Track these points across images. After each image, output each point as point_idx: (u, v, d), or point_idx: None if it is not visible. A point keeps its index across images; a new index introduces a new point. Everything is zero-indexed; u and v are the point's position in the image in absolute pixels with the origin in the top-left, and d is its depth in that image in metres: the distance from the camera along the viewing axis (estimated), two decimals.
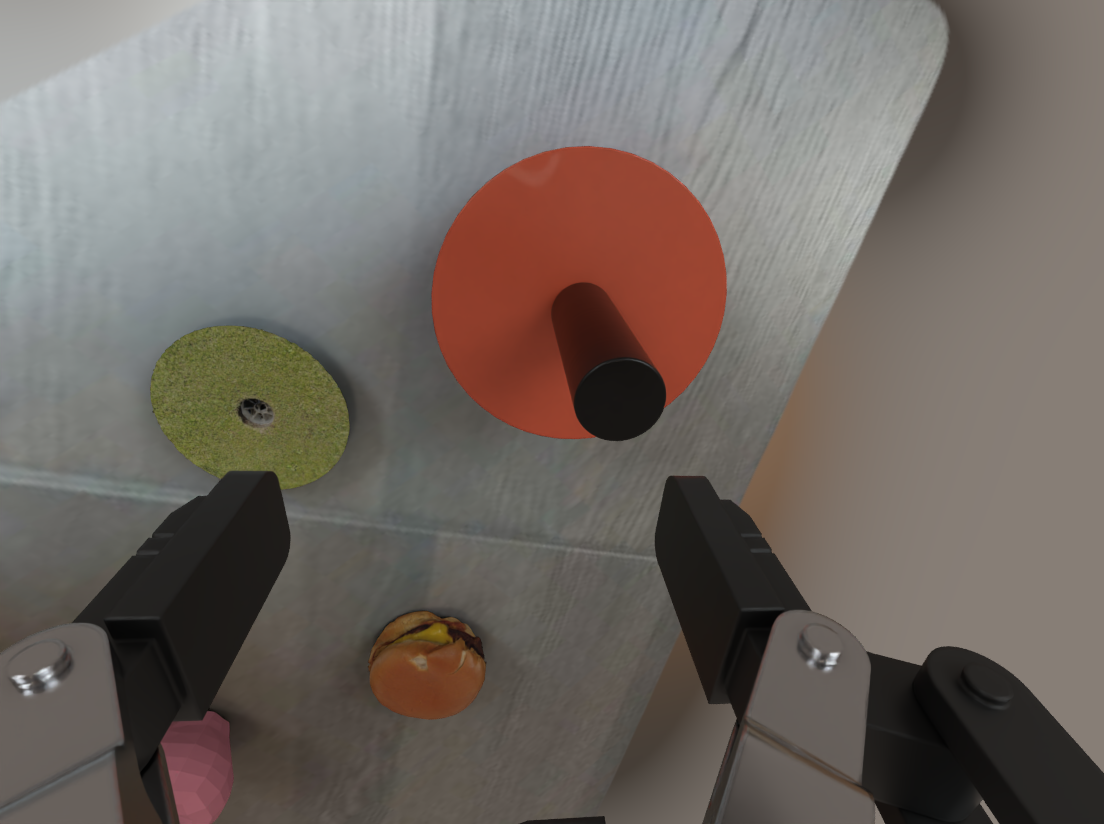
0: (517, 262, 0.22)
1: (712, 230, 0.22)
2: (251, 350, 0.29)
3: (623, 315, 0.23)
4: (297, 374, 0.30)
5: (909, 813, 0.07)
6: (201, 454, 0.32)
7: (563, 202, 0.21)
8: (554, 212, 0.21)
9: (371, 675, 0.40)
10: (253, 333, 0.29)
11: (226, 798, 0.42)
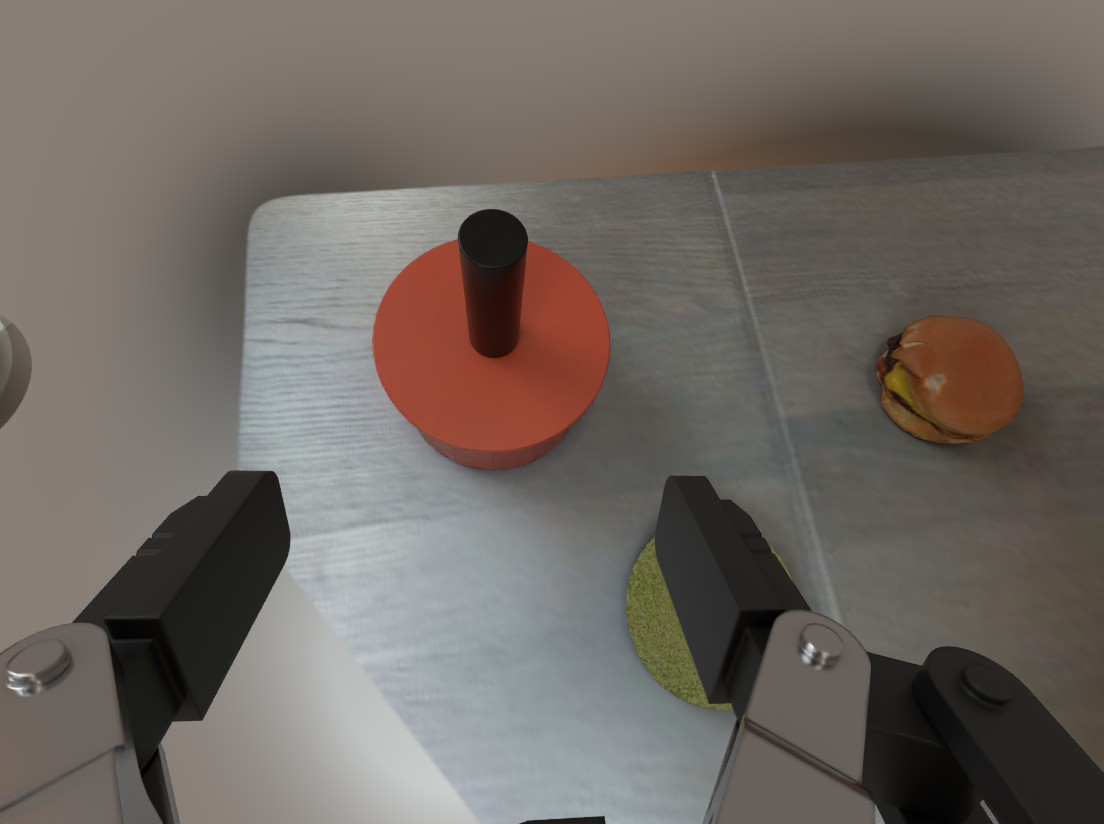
0: (471, 392, 0.28)
1: (405, 270, 0.30)
2: (649, 618, 0.31)
3: None
4: (657, 573, 0.32)
5: (909, 813, 0.07)
6: None
7: (418, 374, 0.28)
8: (427, 378, 0.28)
9: (982, 429, 0.36)
10: (632, 618, 0.31)
11: None
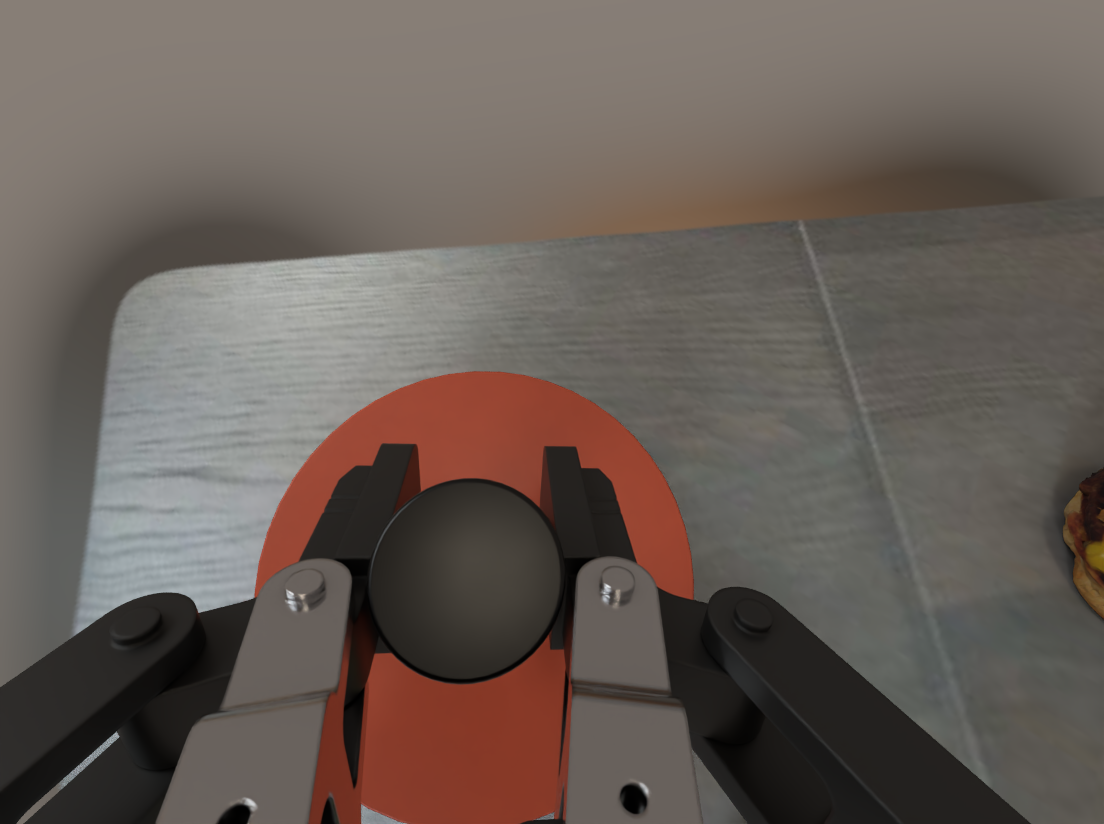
0: (440, 699, 0.15)
1: (324, 444, 0.16)
2: None
3: None
4: None
5: (722, 751, 0.07)
6: None
7: None
8: None
9: None
10: None
11: None
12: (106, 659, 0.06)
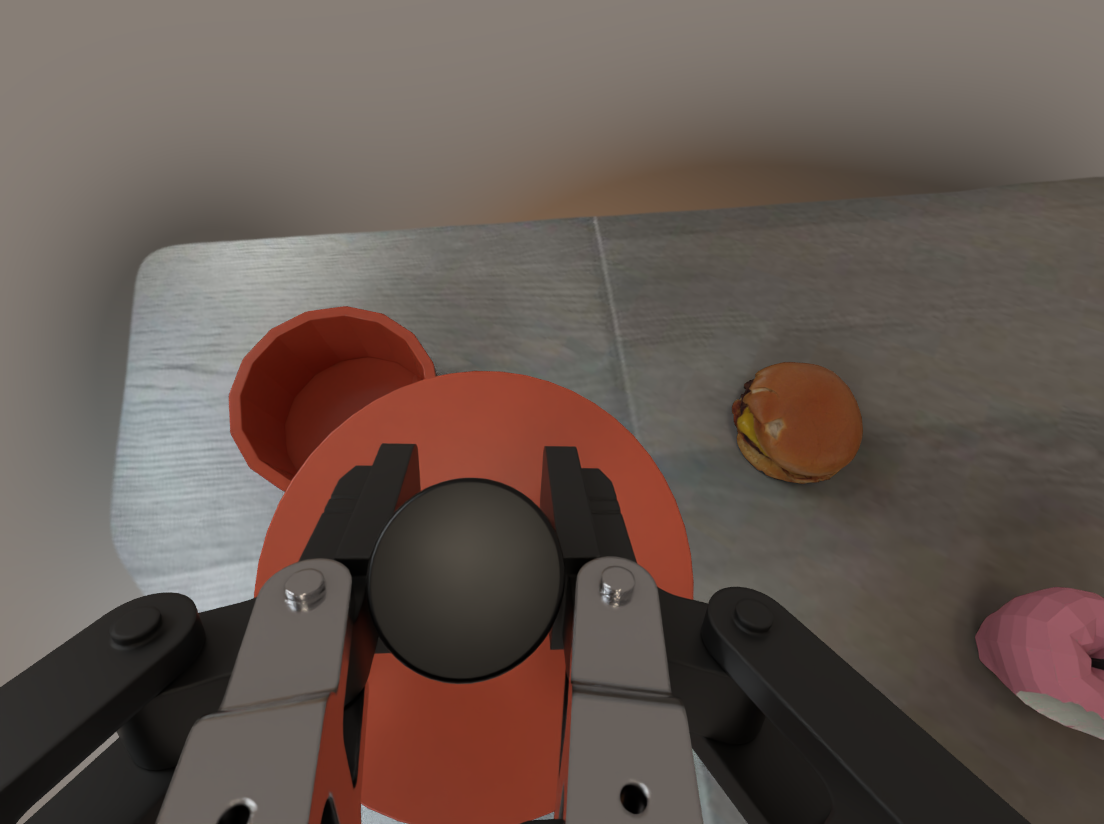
0: (440, 699, 0.15)
1: (323, 444, 0.16)
2: None
3: None
4: None
5: (721, 750, 0.07)
6: None
7: None
8: None
9: (818, 472, 0.38)
10: None
11: (1060, 588, 0.35)
12: (105, 659, 0.06)
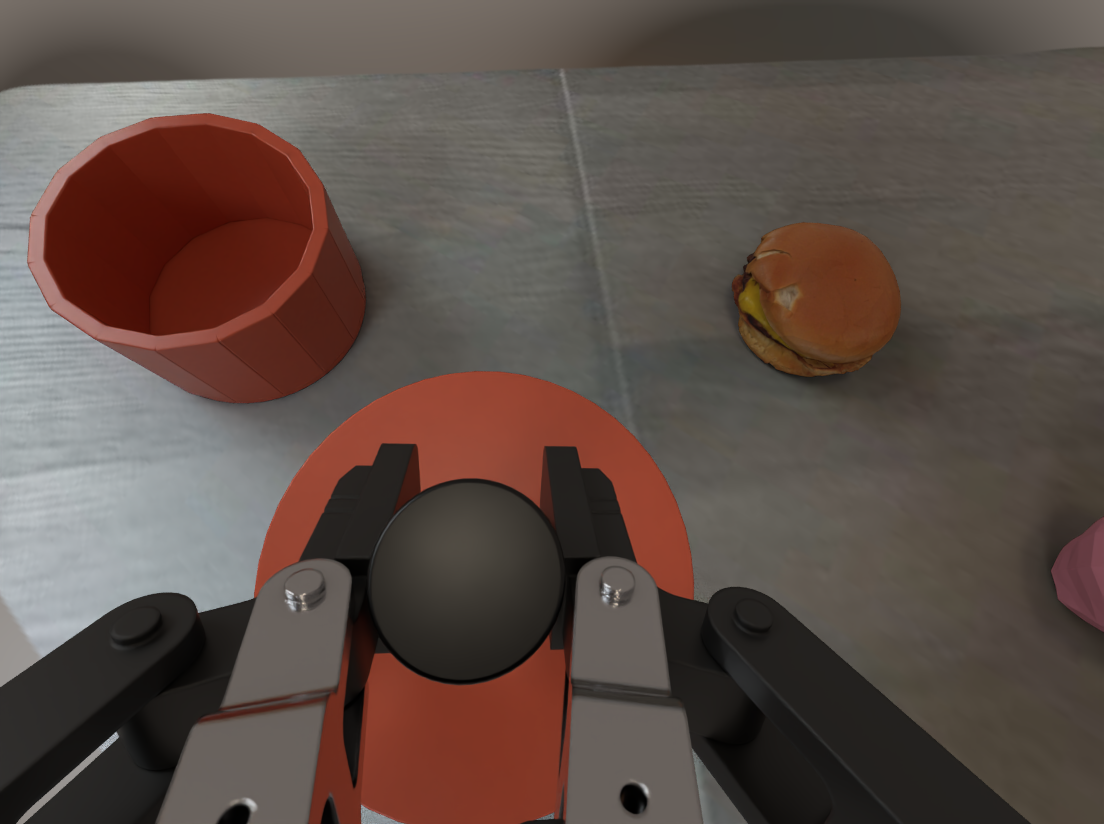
0: (440, 699, 0.15)
1: (324, 444, 0.16)
2: None
3: None
4: None
5: (722, 751, 0.07)
6: None
7: None
8: None
9: (845, 354, 0.29)
10: None
11: None
12: (106, 659, 0.06)
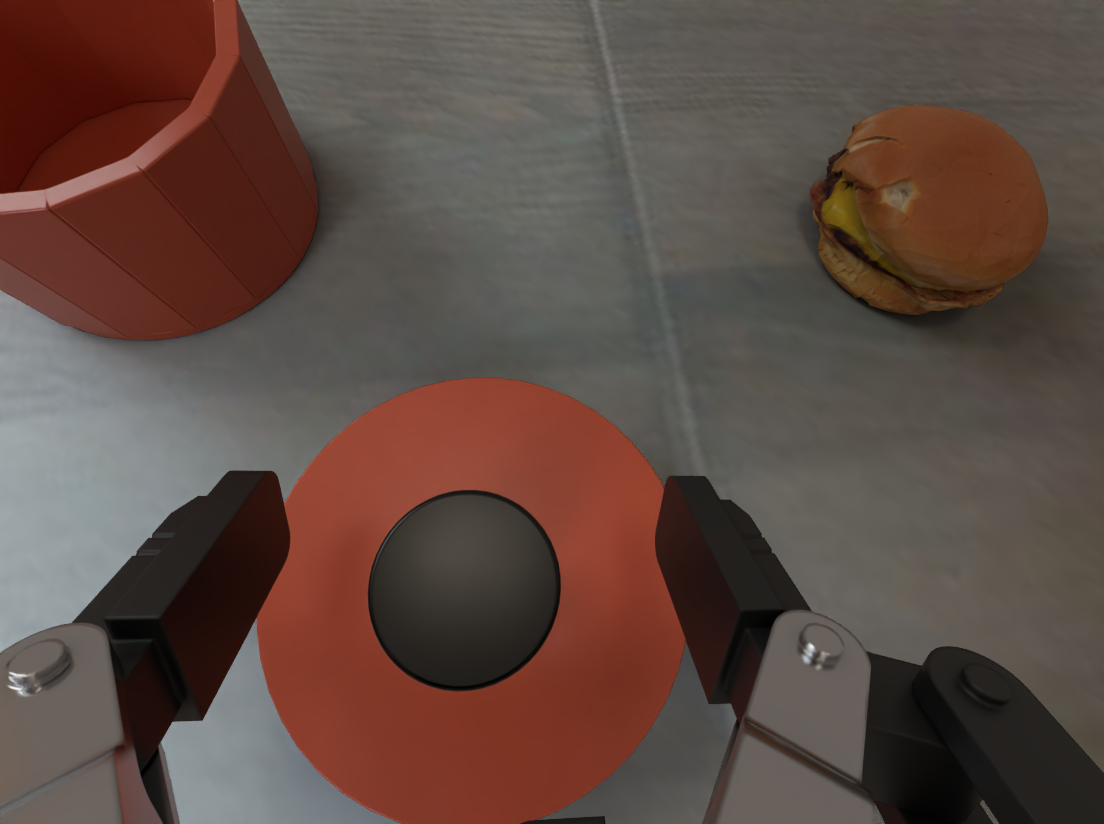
0: (440, 702, 0.15)
1: (325, 450, 0.17)
2: None
3: None
4: None
5: (909, 813, 0.07)
6: None
7: (340, 667, 0.15)
8: (356, 675, 0.15)
9: (979, 276, 0.21)
10: None
11: None
12: None
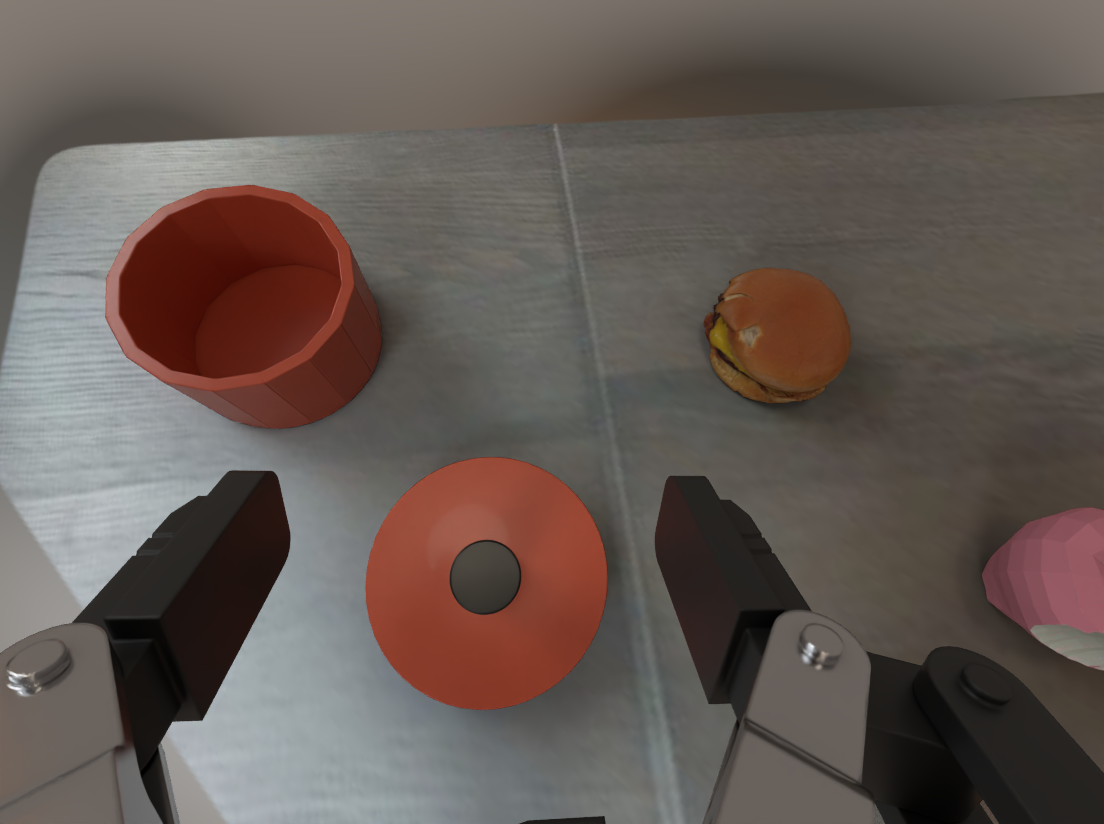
0: (466, 642, 0.27)
1: (399, 502, 0.29)
2: None
3: (481, 540, 0.29)
4: None
5: (909, 813, 0.07)
6: None
7: (412, 623, 0.27)
8: (421, 627, 0.27)
9: (800, 385, 0.34)
10: None
11: (1079, 509, 0.30)
12: None
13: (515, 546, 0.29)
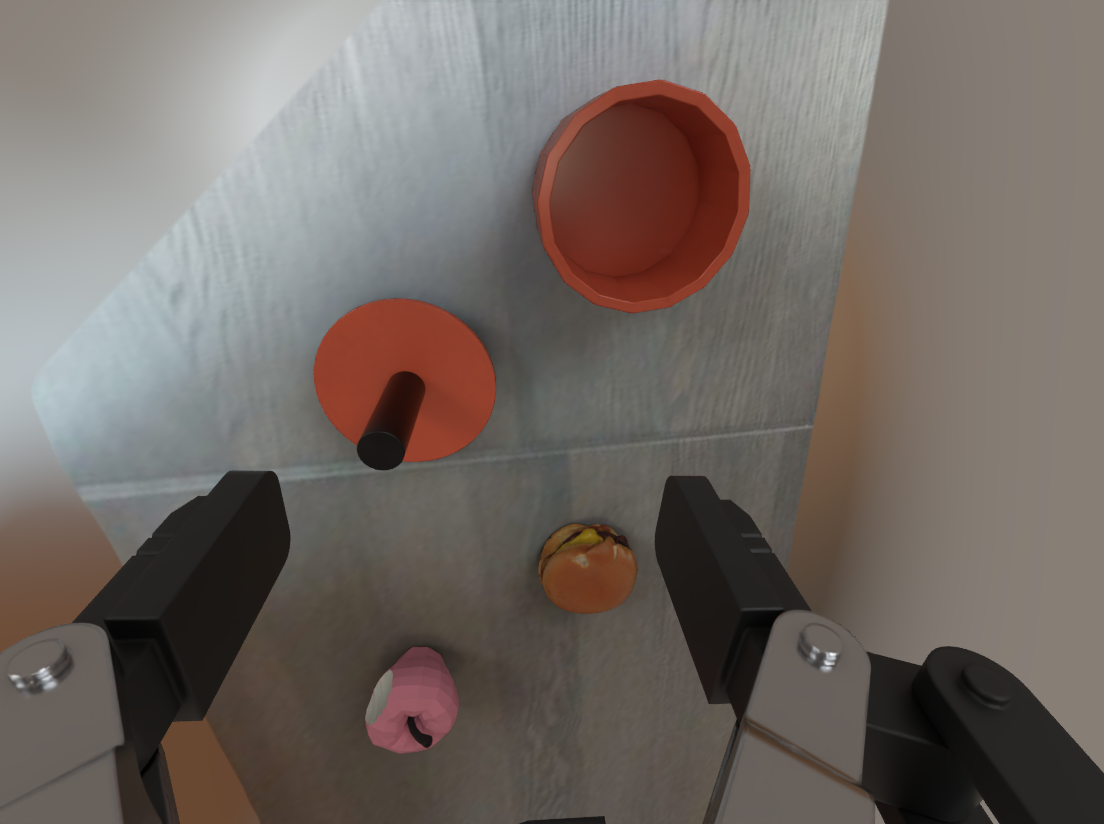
0: (357, 372, 0.38)
1: (458, 323, 0.36)
2: None
3: (431, 382, 0.38)
4: None
5: (909, 813, 0.07)
6: None
7: (367, 335, 0.36)
8: (365, 341, 0.37)
9: (544, 582, 0.49)
10: None
11: (457, 705, 0.52)
12: None
13: (428, 405, 0.39)
